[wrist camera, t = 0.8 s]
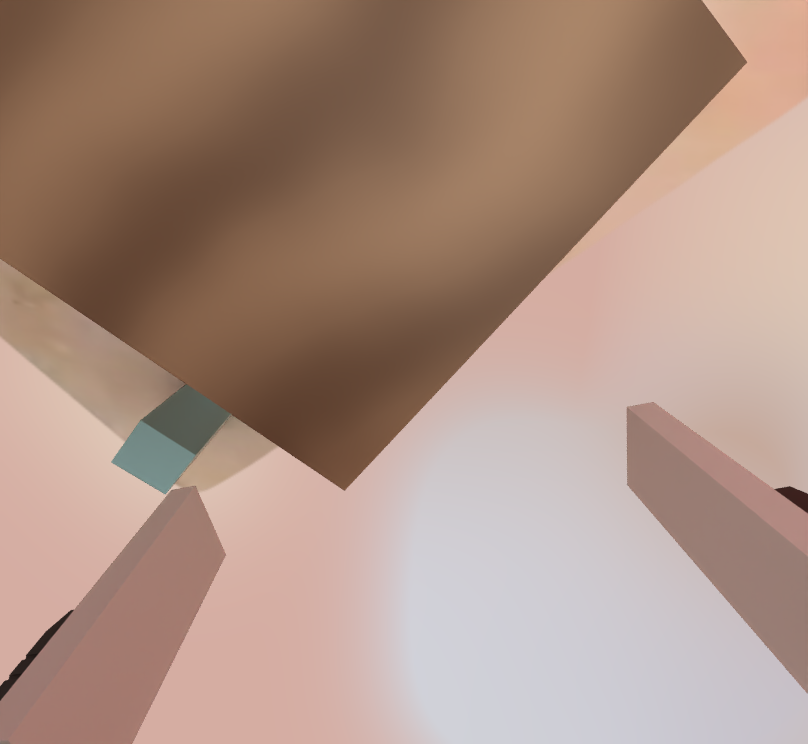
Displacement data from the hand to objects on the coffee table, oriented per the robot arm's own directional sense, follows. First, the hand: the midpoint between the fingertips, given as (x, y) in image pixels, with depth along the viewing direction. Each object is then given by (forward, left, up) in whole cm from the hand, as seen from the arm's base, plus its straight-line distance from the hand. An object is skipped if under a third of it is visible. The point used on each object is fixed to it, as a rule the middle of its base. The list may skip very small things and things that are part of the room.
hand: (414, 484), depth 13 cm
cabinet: (-9, +6, -23) cm, 26 cm away
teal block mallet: (-8, -10, -23) cm, 27 cm away
